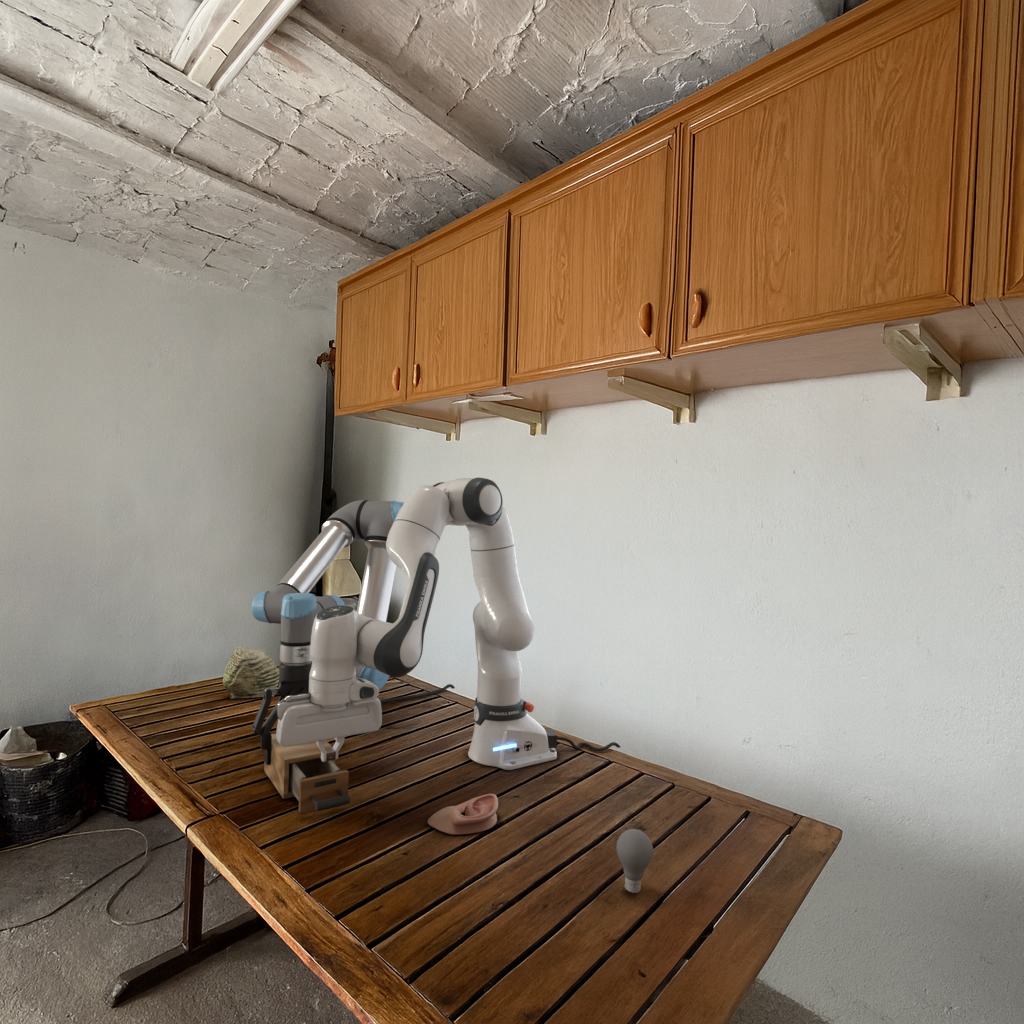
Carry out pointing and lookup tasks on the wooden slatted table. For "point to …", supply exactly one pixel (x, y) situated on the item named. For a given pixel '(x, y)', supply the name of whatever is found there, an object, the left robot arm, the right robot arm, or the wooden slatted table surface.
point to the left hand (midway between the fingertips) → (293, 757)
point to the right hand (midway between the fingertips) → (329, 759)
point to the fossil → (250, 673)
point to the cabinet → (284, 757)
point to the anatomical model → (467, 816)
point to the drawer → (318, 784)
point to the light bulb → (634, 857)
